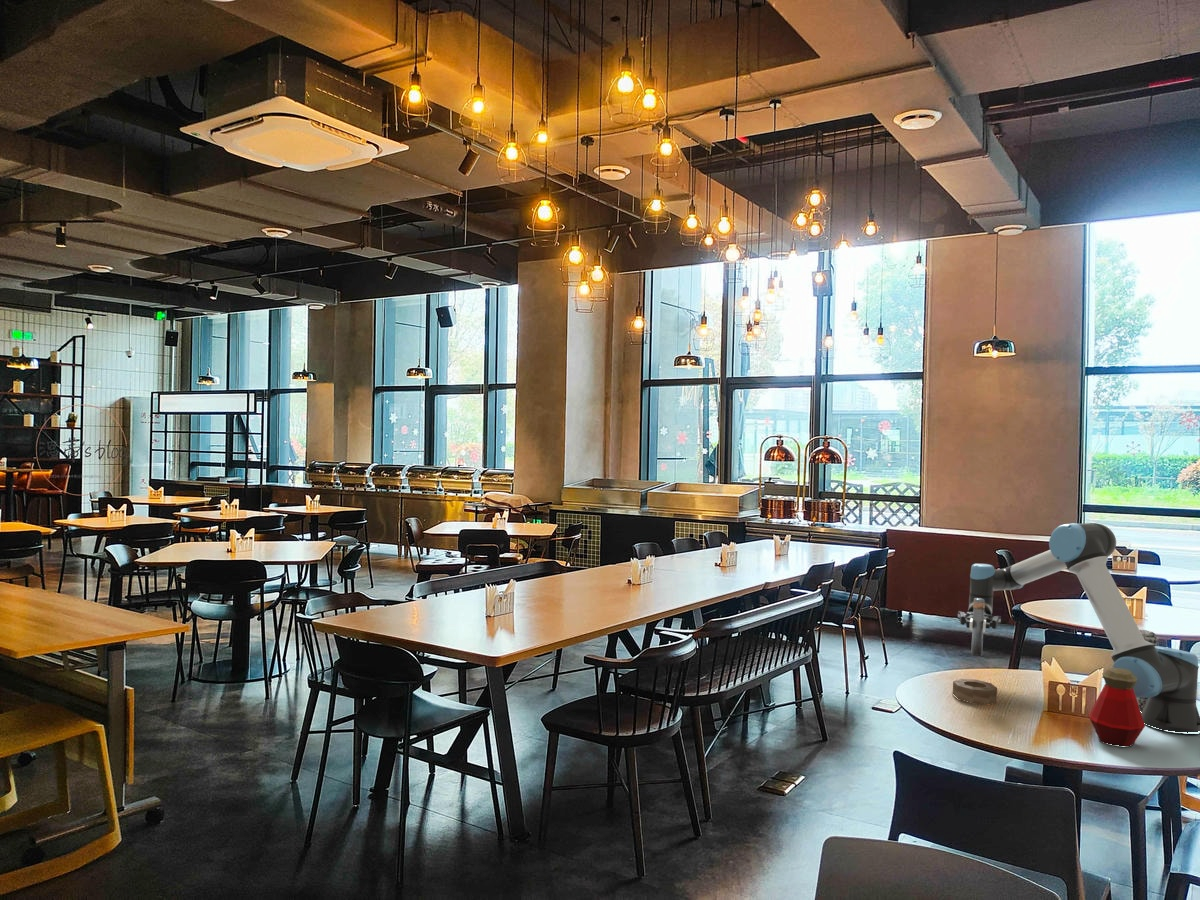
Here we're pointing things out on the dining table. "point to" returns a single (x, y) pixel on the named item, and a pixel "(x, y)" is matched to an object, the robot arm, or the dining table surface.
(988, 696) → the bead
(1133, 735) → the bottle
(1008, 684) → the dining table surface
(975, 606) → the copper-banded metal rod
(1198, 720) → the robot arm
